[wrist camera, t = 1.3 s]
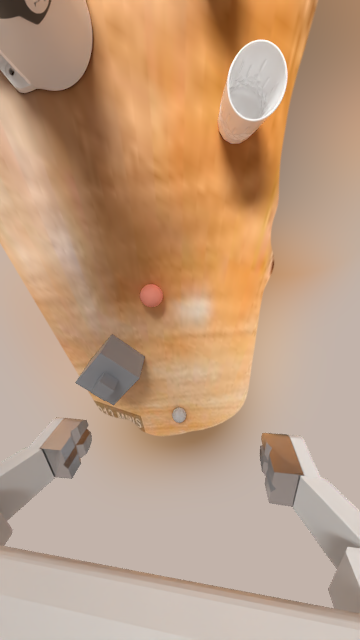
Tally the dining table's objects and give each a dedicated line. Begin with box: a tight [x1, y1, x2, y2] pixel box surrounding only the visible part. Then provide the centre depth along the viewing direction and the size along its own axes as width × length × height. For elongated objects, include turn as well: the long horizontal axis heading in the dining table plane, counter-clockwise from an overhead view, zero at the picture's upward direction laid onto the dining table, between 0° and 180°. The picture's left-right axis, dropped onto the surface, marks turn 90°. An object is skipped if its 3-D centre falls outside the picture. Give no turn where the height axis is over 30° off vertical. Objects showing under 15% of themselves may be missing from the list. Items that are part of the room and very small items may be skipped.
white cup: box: [218, 40, 287, 144], centre depth 32 cm, size 8×8×10 cm
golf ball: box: [172, 408, 186, 423], centre depth 60 cm, size 4×4×4 cm
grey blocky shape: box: [76, 334, 145, 405], centre depth 49 cm, size 10×10×12 cm
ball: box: [140, 284, 163, 307], centre depth 46 cm, size 5×5×5 cm
